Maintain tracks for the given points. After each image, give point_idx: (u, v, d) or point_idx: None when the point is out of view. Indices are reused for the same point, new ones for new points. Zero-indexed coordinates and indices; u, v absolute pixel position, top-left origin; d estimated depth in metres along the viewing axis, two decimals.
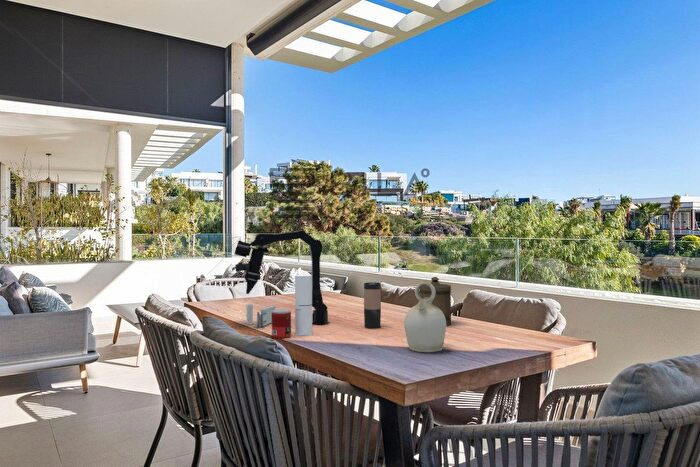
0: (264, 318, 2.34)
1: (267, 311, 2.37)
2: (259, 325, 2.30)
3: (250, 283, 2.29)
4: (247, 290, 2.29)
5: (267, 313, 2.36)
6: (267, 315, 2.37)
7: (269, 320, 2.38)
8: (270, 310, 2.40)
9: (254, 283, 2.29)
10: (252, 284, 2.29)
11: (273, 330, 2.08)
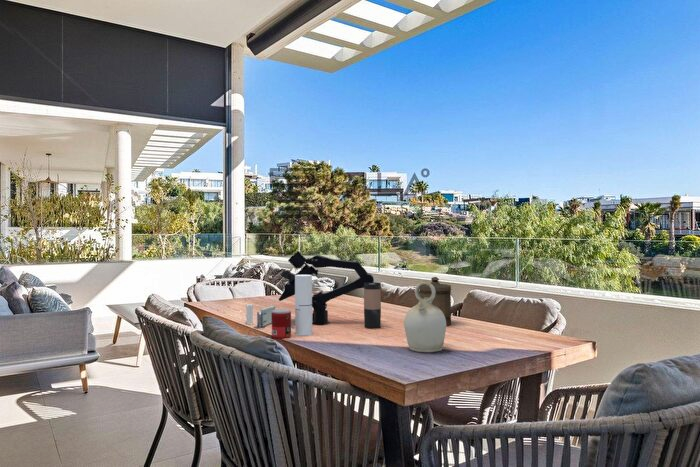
0: (264, 318, 2.34)
1: (267, 311, 2.37)
2: (259, 325, 2.30)
3: (286, 293, 2.36)
4: (281, 297, 2.37)
5: (267, 313, 2.36)
6: (267, 315, 2.37)
7: (269, 320, 2.38)
8: (270, 310, 2.40)
9: (290, 295, 2.36)
10: (287, 295, 2.36)
11: (273, 330, 2.08)
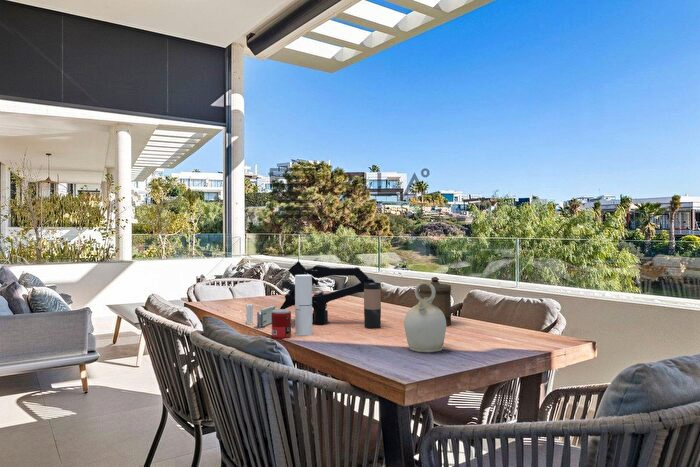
0: (264, 318, 2.34)
1: (267, 311, 2.37)
2: (259, 325, 2.30)
3: (287, 302, 2.39)
4: (282, 307, 2.40)
5: (267, 313, 2.36)
6: (267, 315, 2.37)
7: (269, 320, 2.38)
8: (270, 310, 2.40)
9: (290, 304, 2.39)
10: (288, 304, 2.39)
11: (273, 330, 2.08)
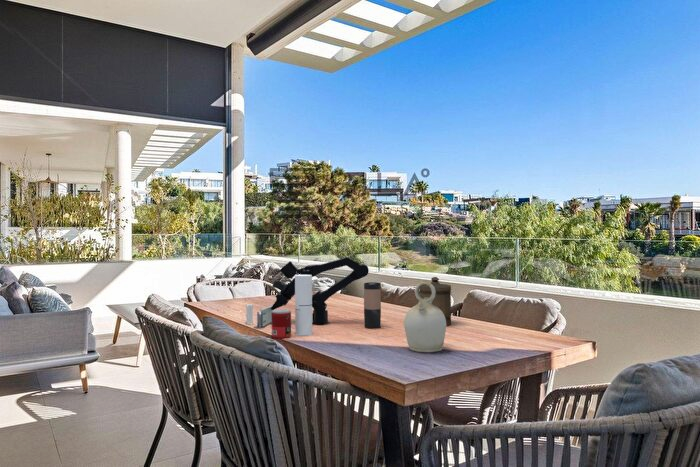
0: (264, 318, 2.34)
1: (266, 311, 2.37)
2: (259, 325, 2.30)
3: (278, 302, 2.39)
4: (273, 306, 2.40)
5: (266, 313, 2.37)
6: (266, 315, 2.37)
7: (268, 320, 2.38)
8: (269, 310, 2.40)
9: (281, 304, 2.38)
10: (279, 304, 2.39)
11: (273, 330, 2.08)
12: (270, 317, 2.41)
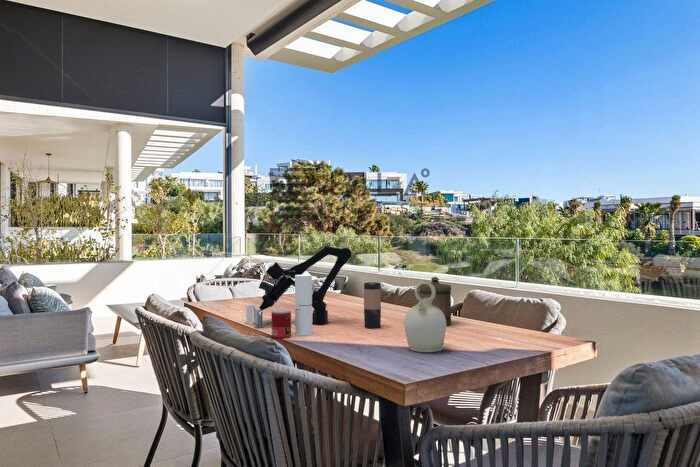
0: None
1: None
2: (259, 325, 2.30)
3: (265, 303, 2.39)
4: (260, 308, 2.39)
5: None
6: None
7: None
8: None
9: (268, 305, 2.38)
10: (266, 305, 2.39)
11: (273, 330, 2.08)
12: None
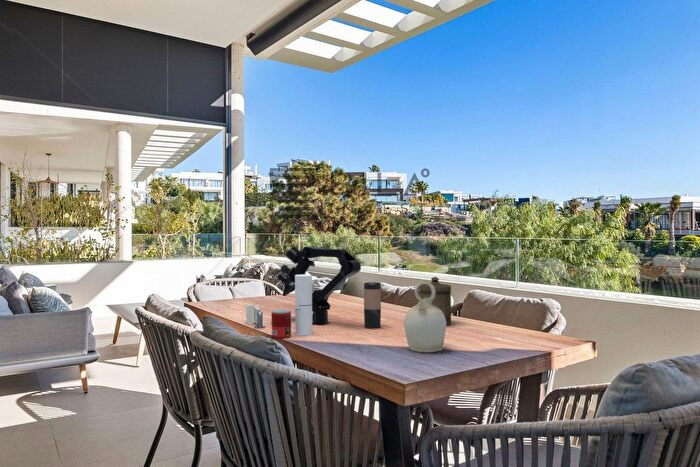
0: None
1: None
2: (259, 325, 2.30)
3: (287, 286, 2.46)
4: (283, 292, 2.47)
5: None
6: None
7: None
8: None
9: (289, 287, 2.44)
10: (288, 288, 2.45)
11: (273, 330, 2.08)
12: None
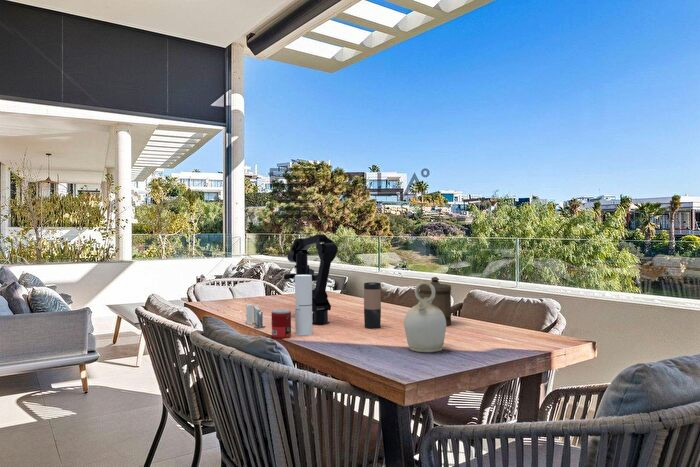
0: None
1: None
2: (259, 325, 2.30)
3: None
4: None
5: None
6: None
7: None
8: None
9: None
10: None
11: (273, 330, 2.08)
12: None
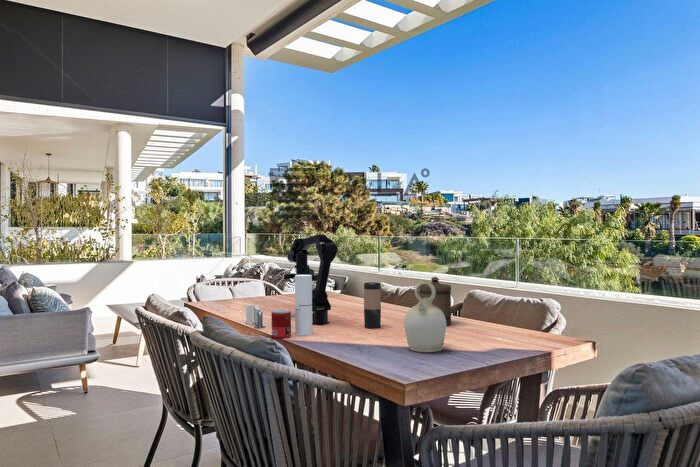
0: None
1: None
2: (259, 325, 2.30)
3: None
4: None
5: None
6: None
7: None
8: None
9: None
10: None
11: (273, 330, 2.08)
12: None
